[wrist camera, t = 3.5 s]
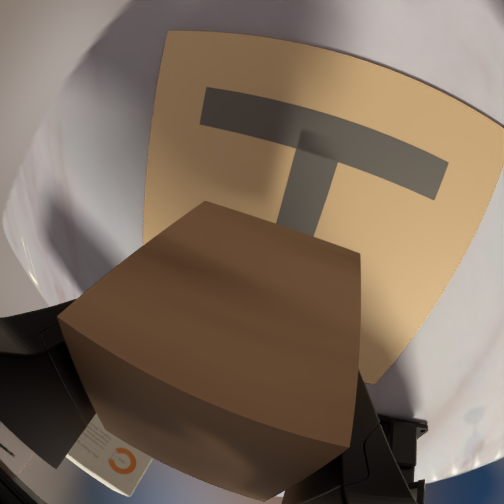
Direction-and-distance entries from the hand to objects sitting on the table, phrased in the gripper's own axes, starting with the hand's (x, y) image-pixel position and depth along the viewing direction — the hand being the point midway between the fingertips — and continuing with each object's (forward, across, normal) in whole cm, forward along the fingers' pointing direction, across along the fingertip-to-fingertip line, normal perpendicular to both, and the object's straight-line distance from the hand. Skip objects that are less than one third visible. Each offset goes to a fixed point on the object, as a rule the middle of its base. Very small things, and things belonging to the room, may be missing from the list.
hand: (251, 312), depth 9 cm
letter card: (+7, 0, 0) cm, 7 cm away
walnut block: (+1, 0, 0) cm, 1 cm away
